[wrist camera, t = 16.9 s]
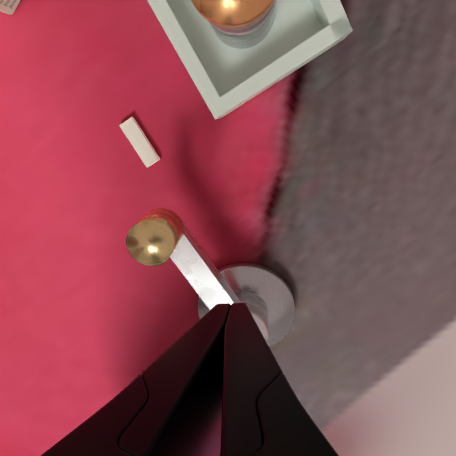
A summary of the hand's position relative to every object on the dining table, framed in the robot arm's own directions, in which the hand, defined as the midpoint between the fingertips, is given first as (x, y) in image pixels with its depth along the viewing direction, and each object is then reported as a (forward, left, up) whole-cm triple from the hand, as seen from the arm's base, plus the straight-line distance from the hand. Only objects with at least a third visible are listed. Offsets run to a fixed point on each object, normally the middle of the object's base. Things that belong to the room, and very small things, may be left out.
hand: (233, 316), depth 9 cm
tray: (+9, -5, -12) cm, 16 cm away
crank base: (-7, +4, -12) cm, 14 cm away
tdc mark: (+7, +4, -12) cm, 14 cm away
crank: (-2, +4, -11) cm, 12 cm away
